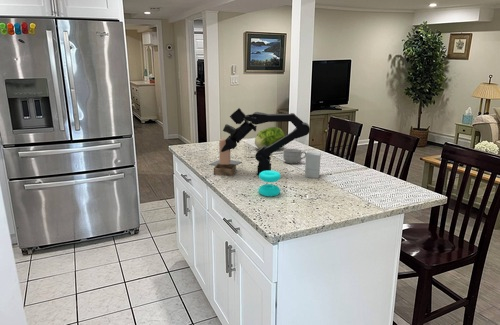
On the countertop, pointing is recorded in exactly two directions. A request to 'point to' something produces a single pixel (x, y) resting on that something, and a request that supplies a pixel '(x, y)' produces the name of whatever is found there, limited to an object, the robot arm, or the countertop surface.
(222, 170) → the wooden frame
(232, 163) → the rubber mat
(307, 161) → the supplement box
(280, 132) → the lettuce
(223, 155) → the terracotta block
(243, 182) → the countertop surface
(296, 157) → the teacup
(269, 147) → the robot arm
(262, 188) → the donuts
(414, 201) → the countertop surface
